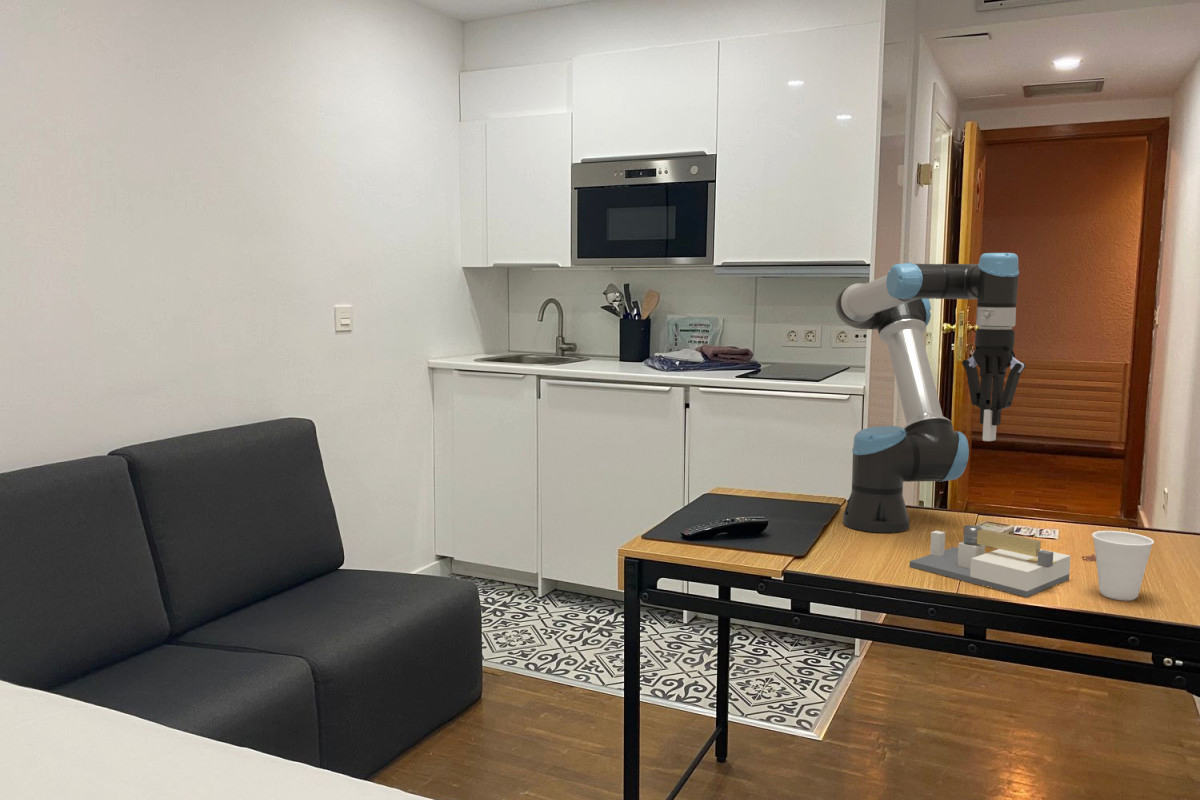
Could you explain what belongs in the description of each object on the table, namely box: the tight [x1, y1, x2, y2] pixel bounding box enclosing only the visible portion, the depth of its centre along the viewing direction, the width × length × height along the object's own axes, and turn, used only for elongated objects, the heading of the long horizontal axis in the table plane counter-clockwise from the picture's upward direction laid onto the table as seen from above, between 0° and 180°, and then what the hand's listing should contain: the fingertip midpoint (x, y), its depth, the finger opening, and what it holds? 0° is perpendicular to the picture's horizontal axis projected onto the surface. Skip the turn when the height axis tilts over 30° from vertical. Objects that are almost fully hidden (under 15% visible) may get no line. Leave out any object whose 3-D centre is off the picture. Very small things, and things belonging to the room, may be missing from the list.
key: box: [1081, 553, 1096, 563], centre depth 187 cm, size 6×1×15 cm
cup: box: [1091, 530, 1155, 602], centre depth 168 cm, size 10×10×11 cm
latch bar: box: [962, 524, 1042, 557], centre depth 178 cm, size 15×3×3 cm, turn 40°
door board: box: [908, 530, 1071, 598], centre depth 181 cm, size 25×17×7 cm
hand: (989, 440), depth 194 cm, fingers closed
